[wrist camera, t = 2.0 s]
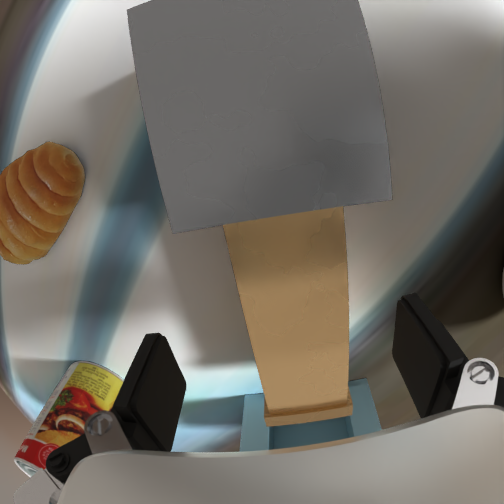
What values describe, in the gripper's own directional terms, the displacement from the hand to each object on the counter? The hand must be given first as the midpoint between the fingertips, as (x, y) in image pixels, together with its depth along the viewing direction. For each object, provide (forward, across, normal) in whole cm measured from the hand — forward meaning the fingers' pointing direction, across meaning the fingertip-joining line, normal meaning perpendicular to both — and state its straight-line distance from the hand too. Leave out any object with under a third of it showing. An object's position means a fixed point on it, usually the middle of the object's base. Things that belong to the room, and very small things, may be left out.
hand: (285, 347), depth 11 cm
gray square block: (+7, -1, -9) cm, 12 cm away
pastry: (+8, +16, -8) cm, 19 cm away
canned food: (+8, +18, +11) cm, 23 cm away
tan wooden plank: (+6, -1, -3) cm, 7 cm away
